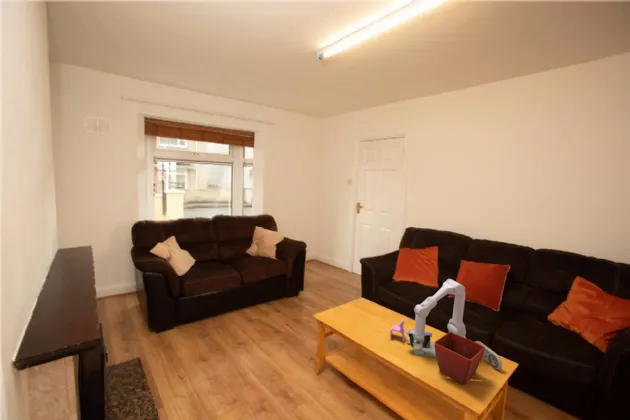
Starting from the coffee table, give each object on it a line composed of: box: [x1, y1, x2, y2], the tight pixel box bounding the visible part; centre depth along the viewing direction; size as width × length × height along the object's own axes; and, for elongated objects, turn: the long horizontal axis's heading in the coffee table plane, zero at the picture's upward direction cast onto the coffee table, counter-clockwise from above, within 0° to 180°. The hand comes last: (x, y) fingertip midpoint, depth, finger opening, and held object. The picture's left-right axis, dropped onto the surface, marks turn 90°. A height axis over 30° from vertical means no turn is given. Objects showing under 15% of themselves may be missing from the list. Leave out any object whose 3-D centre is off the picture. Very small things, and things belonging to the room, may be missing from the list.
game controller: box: [474, 340, 503, 370], centre depth 164 cm, size 20×2×8 cm, turn 11°
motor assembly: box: [406, 335, 436, 358], centre depth 173 cm, size 17×15×6 cm
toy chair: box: [389, 317, 406, 342], centre depth 183 cm, size 8×9×15 cm
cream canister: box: [413, 340, 423, 352], centre depth 169 cm, size 5×5×6 cm
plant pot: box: [433, 331, 485, 385], centre depth 152 cm, size 19×19×17 cm
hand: (418, 346), depth 170 cm, fingers open, 7 cm apart
